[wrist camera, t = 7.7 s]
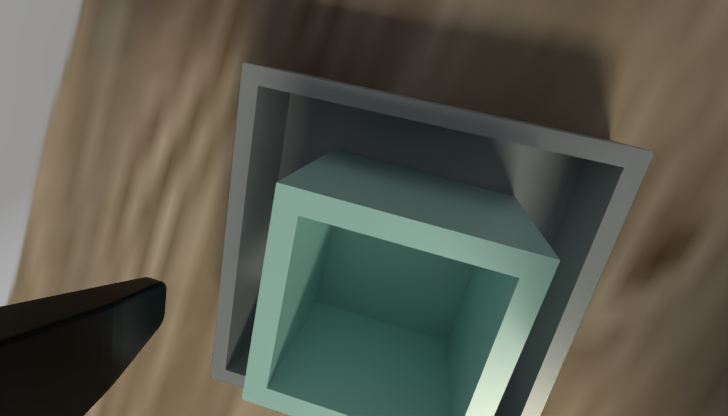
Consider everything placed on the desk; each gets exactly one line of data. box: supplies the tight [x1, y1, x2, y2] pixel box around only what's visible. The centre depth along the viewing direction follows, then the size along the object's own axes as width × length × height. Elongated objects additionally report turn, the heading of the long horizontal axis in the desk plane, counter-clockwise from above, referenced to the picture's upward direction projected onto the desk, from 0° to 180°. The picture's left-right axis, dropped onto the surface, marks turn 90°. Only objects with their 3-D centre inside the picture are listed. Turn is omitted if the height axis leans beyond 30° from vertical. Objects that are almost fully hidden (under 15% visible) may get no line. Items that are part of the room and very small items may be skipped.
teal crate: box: [242, 149, 560, 416], centre depth 11 cm, size 6×6×5 cm
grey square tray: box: [211, 62, 654, 416], centre depth 13 cm, size 10×10×3 cm
